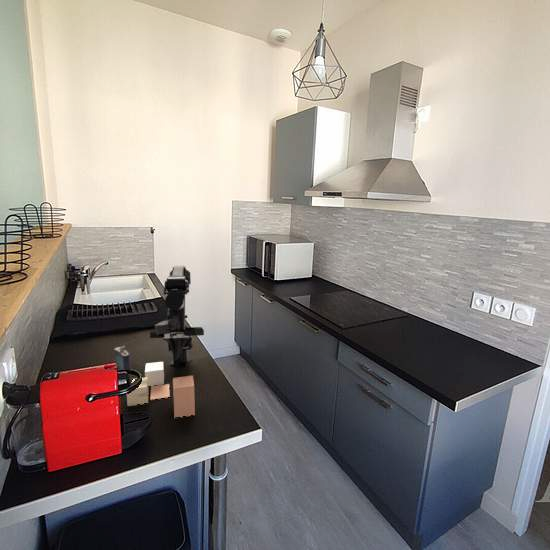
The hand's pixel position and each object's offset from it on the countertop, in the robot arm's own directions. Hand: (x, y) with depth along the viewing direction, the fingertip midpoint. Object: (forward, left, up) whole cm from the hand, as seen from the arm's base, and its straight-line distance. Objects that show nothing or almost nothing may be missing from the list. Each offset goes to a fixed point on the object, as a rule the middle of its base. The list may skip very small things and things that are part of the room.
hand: (176, 358), depth 112 cm
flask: (-6, -24, -12) cm, 27 cm away
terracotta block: (+11, +7, -11) cm, 17 cm away
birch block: (+8, -10, -12) cm, 17 cm away
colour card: (+3, -5, -11) cm, 13 cm away
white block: (-3, -10, -12) cm, 16 cm away
